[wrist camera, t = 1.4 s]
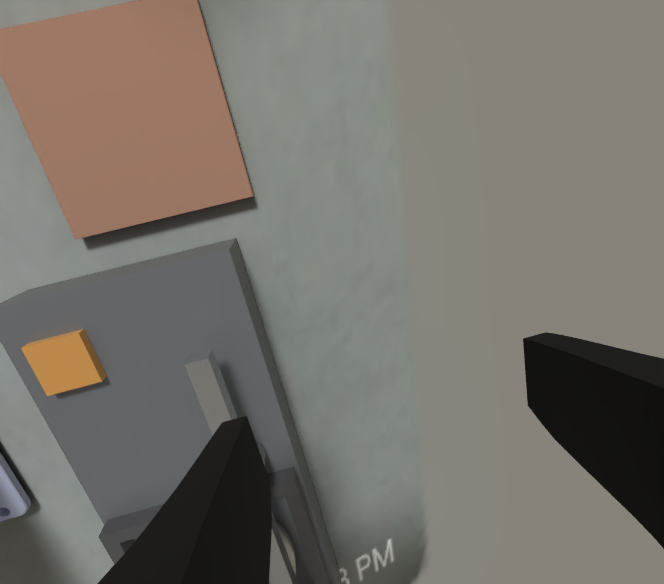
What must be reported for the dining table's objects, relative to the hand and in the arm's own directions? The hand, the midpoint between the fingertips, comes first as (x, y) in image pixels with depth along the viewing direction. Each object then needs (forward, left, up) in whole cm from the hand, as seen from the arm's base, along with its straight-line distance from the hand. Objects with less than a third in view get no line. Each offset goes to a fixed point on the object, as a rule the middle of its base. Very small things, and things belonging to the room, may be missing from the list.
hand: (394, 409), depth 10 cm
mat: (-6, +9, -8) cm, 14 cm away
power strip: (-8, -6, -8) cm, 13 cm away
